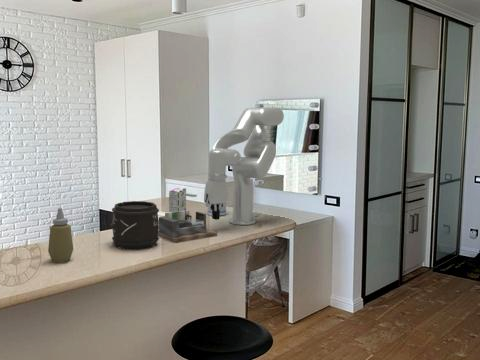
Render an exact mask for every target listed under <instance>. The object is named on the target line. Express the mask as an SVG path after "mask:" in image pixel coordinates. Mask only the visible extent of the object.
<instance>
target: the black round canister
mask: <svg viewBox="0 0 480 360" xmlns="http://www.w3.org/2000/svg"><path fill="white" fill-rule="evenodd" d="M111 211H112V222H111V223H110V229H112V237H111V240H112V241H113V244H114V245H115V247H116V248H118V249H122V250H126V251H127V250H134V251H137V250H139V251H140V250H144V249H145V250H146V249H150V248H153V247H154V246H156V245H157V242H159V240H160V238H159V236H158V231H159V212H160V210H159V208H158V207H157V205H156V203H155V202H151V201H142V200H141V201H140V200H139V201H137V200H130V201H123V202H117V203H115V204H114V207H112V208H111Z"/></svg>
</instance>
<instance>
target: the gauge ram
mask: <svg viewBox="0 0 480 360" xmlns="http://www.w3.org/2000/svg"><path fill="white" fill-rule="evenodd" d="M187 216H188V217H189V220H187ZM199 225H207V213H204V212H200V211H195V218H193V217H192V215H191V214H189V215H187V214H186V220H184V228H185V227H192V226H199Z"/></svg>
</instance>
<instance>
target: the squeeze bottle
mask: <svg viewBox="0 0 480 360" xmlns="http://www.w3.org/2000/svg"><path fill="white" fill-rule="evenodd" d="M63 211H64V210H63V208H62V207H59V208H58V209H57V213H56V217H55V218H53V219H52V225H51V226H50V227H49V236H48V237H49V238H48V248H47V249H48V251H47V252H48V255H49V256H50V257H49V258H50V259H51V261H52V262H54V263H65V262H69V261H71V258H72V255H73V252H74V243H73V235H72V228H71V227H72V226H71V225H70V224H68V223H69V222H68V221H69V219H68V218H67V217H65V215H64V212H63Z"/></svg>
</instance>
